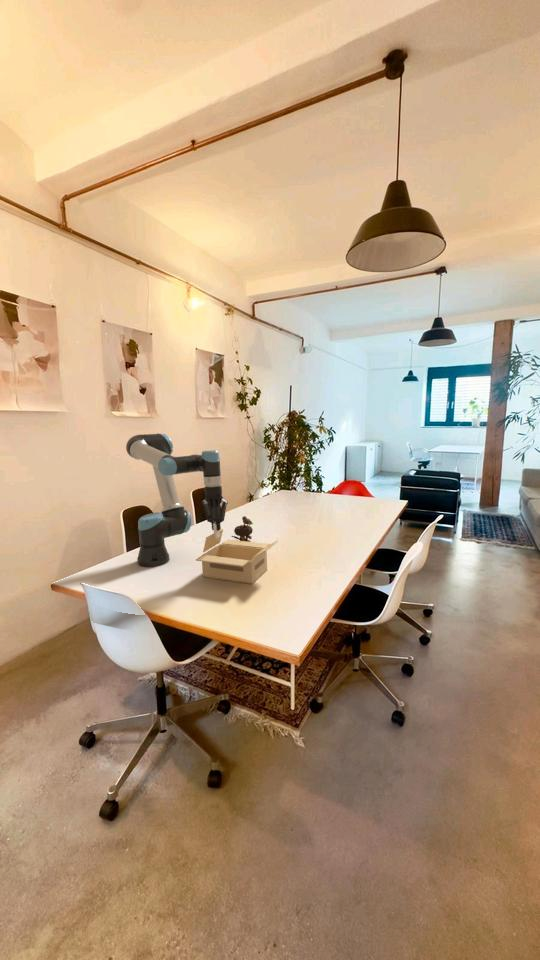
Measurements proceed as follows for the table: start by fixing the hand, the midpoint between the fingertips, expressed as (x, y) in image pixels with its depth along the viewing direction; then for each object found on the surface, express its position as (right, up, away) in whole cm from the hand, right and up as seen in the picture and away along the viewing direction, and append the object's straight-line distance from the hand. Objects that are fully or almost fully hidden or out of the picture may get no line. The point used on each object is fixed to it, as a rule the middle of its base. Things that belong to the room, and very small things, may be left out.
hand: (217, 537), depth 171 cm
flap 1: (-3, -5, +2) cm, 6 cm away
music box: (+10, -12, +25) cm, 30 cm away
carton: (+8, -16, -1) cm, 18 cm away
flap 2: (+19, -6, -7) cm, 21 cm away
